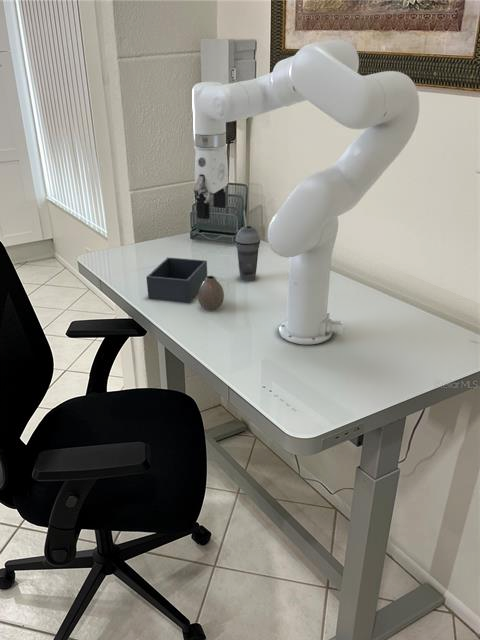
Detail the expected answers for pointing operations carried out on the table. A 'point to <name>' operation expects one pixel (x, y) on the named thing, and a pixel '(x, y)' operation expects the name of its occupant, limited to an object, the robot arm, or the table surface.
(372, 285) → the table surface
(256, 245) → the beverage cup
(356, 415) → the table surface
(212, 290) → the vase
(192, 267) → the dark grey open box
